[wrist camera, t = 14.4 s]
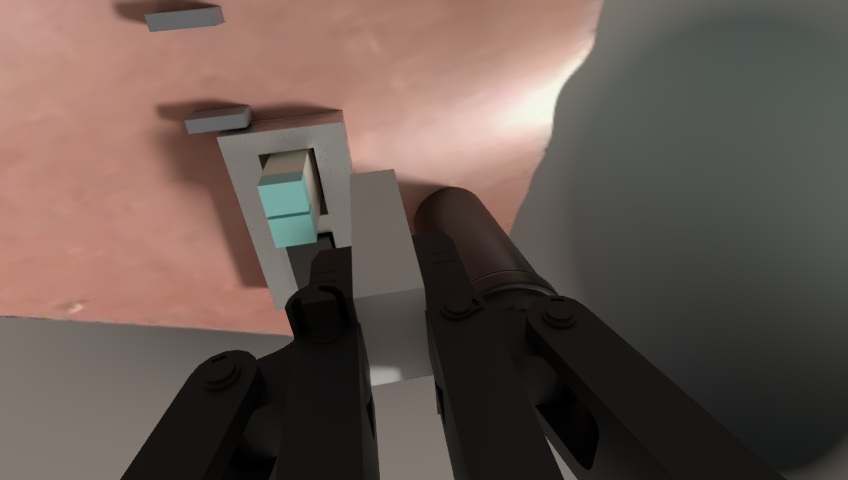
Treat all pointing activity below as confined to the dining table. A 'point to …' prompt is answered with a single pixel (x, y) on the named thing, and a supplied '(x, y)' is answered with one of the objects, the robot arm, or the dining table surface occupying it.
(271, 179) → the plug
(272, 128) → the panel
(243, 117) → the pair of grey blocks
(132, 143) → the dining table surface
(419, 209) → the water bottle
